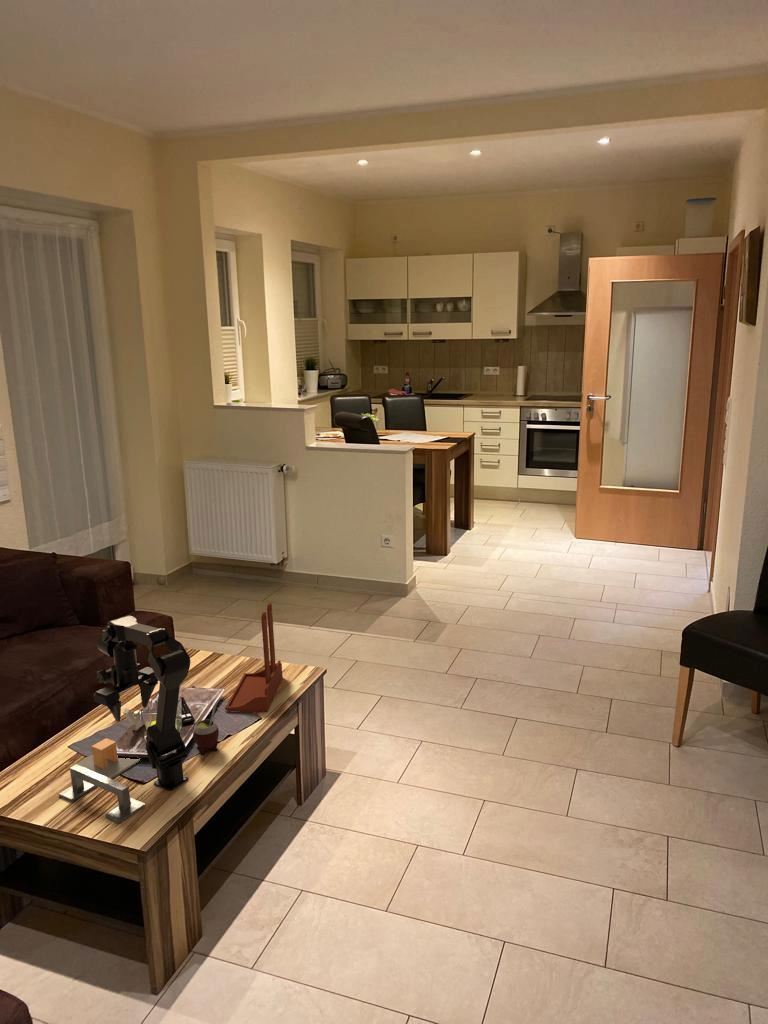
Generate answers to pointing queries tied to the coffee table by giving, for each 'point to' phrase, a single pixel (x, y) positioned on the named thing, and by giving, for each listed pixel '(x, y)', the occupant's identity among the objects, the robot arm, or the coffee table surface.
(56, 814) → the coffee table surface
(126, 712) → the grey flat heart piece
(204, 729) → the mate gourd
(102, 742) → the orange link
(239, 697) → the hanging shelf
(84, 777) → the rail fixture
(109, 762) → the slate mat
